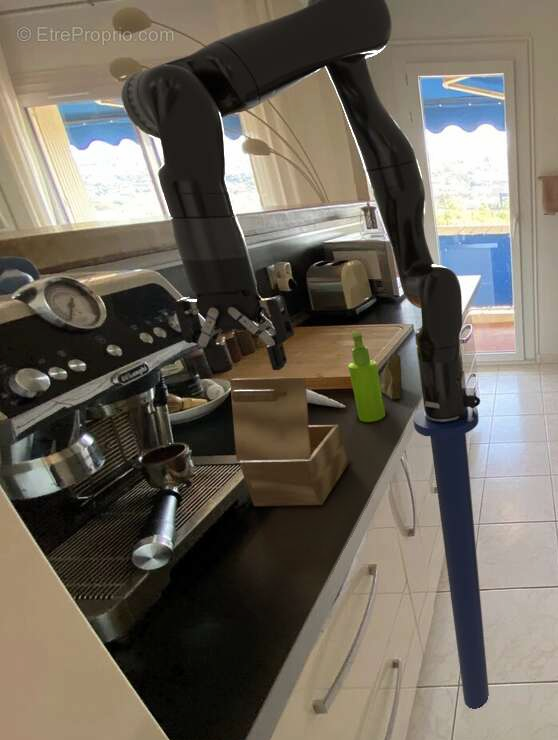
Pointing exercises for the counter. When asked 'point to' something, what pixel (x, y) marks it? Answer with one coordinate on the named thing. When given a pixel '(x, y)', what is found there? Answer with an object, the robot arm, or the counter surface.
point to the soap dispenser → (365, 382)
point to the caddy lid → (270, 419)
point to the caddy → (299, 472)
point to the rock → (392, 378)
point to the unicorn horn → (321, 399)
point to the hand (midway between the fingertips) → (249, 369)
